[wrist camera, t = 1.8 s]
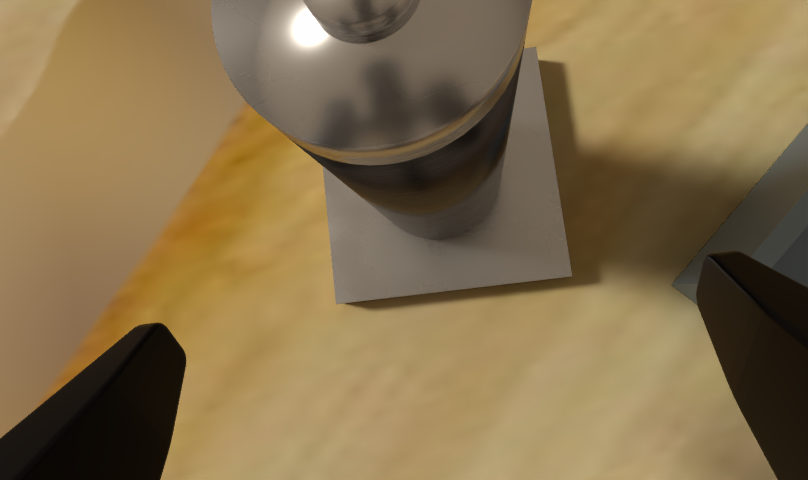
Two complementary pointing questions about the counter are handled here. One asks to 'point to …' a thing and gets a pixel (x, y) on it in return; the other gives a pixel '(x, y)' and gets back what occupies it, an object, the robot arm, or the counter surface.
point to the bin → (766, 222)
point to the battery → (387, 95)
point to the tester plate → (474, 249)
